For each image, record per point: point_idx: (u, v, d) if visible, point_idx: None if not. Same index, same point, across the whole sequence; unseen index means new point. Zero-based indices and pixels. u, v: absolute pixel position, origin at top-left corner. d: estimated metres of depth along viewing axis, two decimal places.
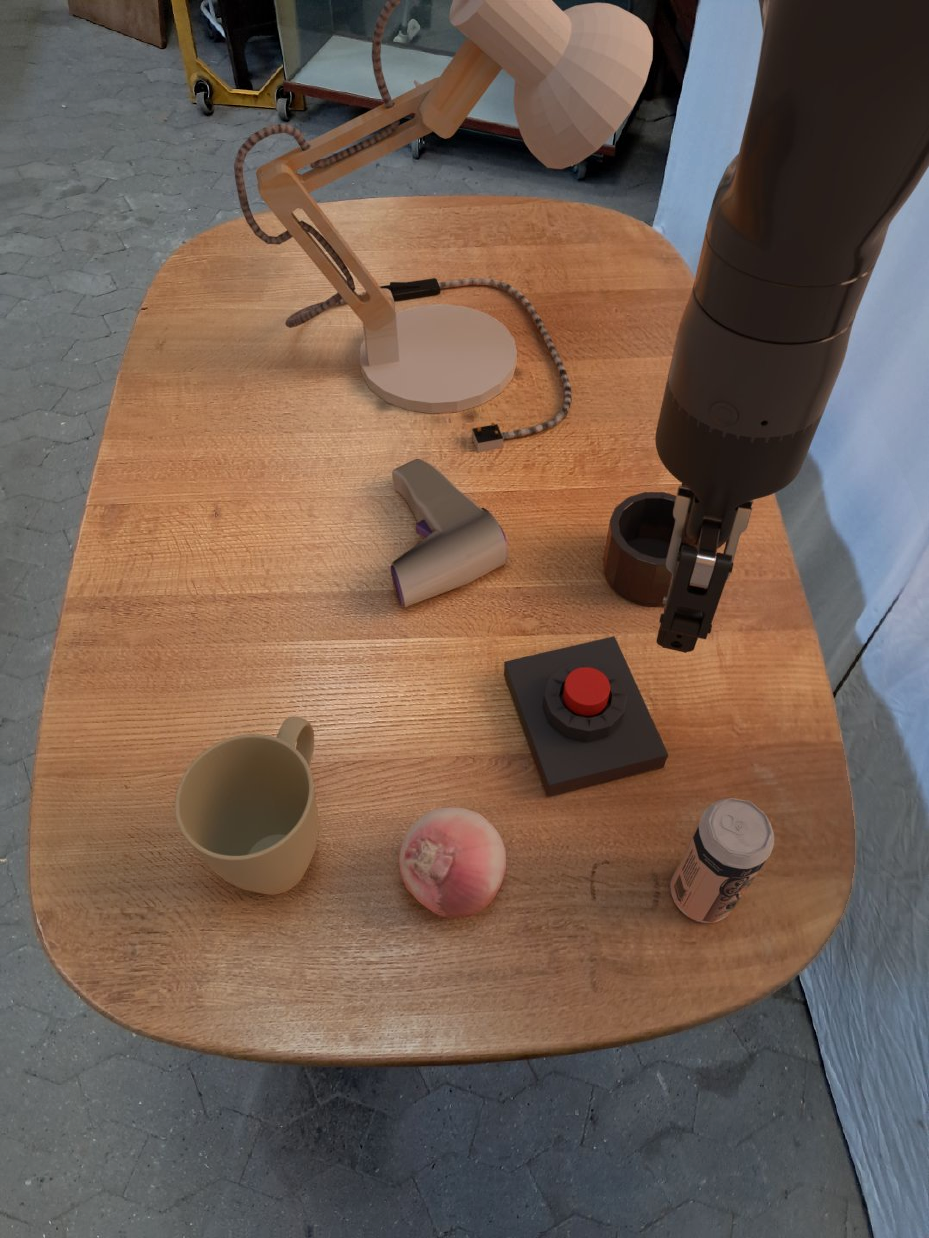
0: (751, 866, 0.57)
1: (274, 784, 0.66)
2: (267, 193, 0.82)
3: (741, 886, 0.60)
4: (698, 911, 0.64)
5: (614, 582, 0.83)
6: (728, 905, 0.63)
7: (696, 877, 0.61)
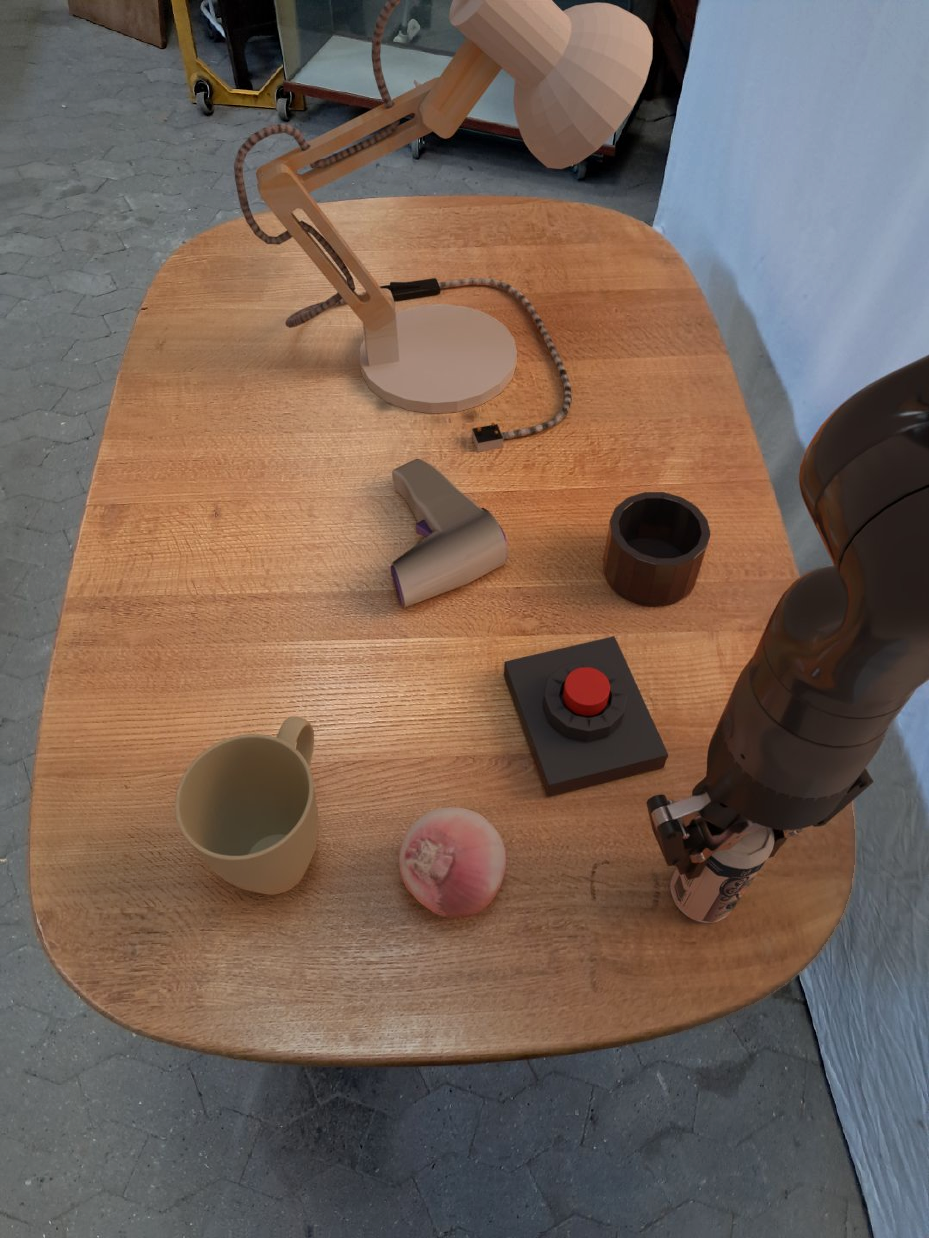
0: (751, 866, 0.57)
1: (274, 784, 0.66)
2: (267, 193, 0.82)
3: (741, 886, 0.60)
4: (699, 911, 0.64)
5: (614, 582, 0.83)
6: (728, 905, 0.63)
7: None
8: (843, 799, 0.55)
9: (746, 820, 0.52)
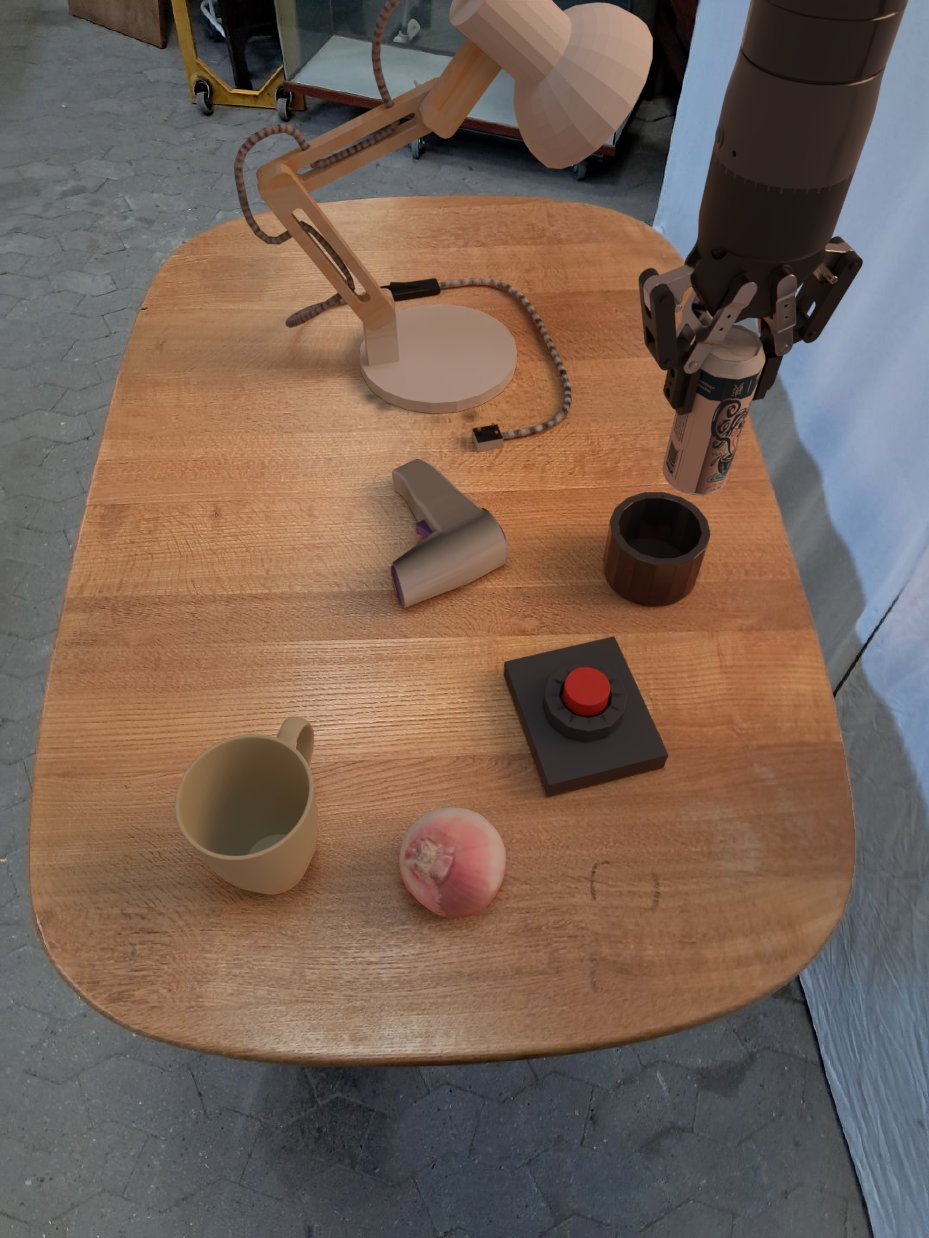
0: (742, 376, 0.57)
1: (274, 784, 0.66)
2: (267, 193, 0.82)
3: (733, 422, 0.61)
4: (690, 475, 0.65)
5: (614, 582, 0.83)
6: (720, 462, 0.64)
7: (688, 421, 0.62)
8: (833, 291, 0.55)
9: (738, 285, 0.52)
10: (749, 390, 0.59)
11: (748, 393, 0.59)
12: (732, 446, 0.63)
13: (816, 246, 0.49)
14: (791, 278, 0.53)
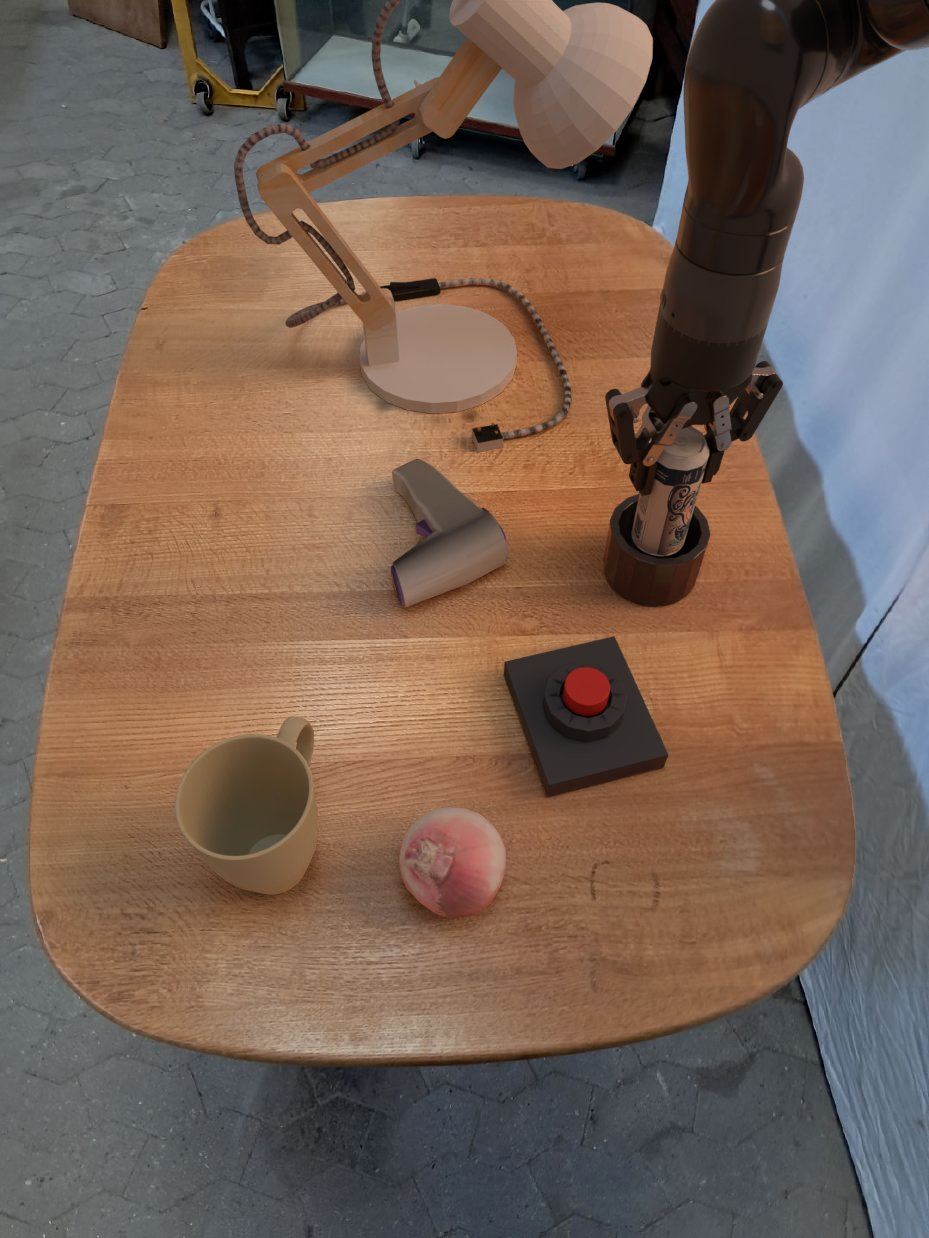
0: (690, 468, 0.72)
1: (274, 784, 0.66)
2: (267, 193, 0.82)
3: (685, 501, 0.75)
4: (653, 541, 0.79)
5: (614, 582, 0.83)
6: (676, 531, 0.78)
7: (649, 499, 0.76)
8: (761, 404, 0.70)
9: (682, 403, 0.67)
10: (696, 477, 0.73)
11: (696, 480, 0.74)
12: (686, 519, 0.77)
13: (739, 379, 0.64)
14: (724, 398, 0.67)
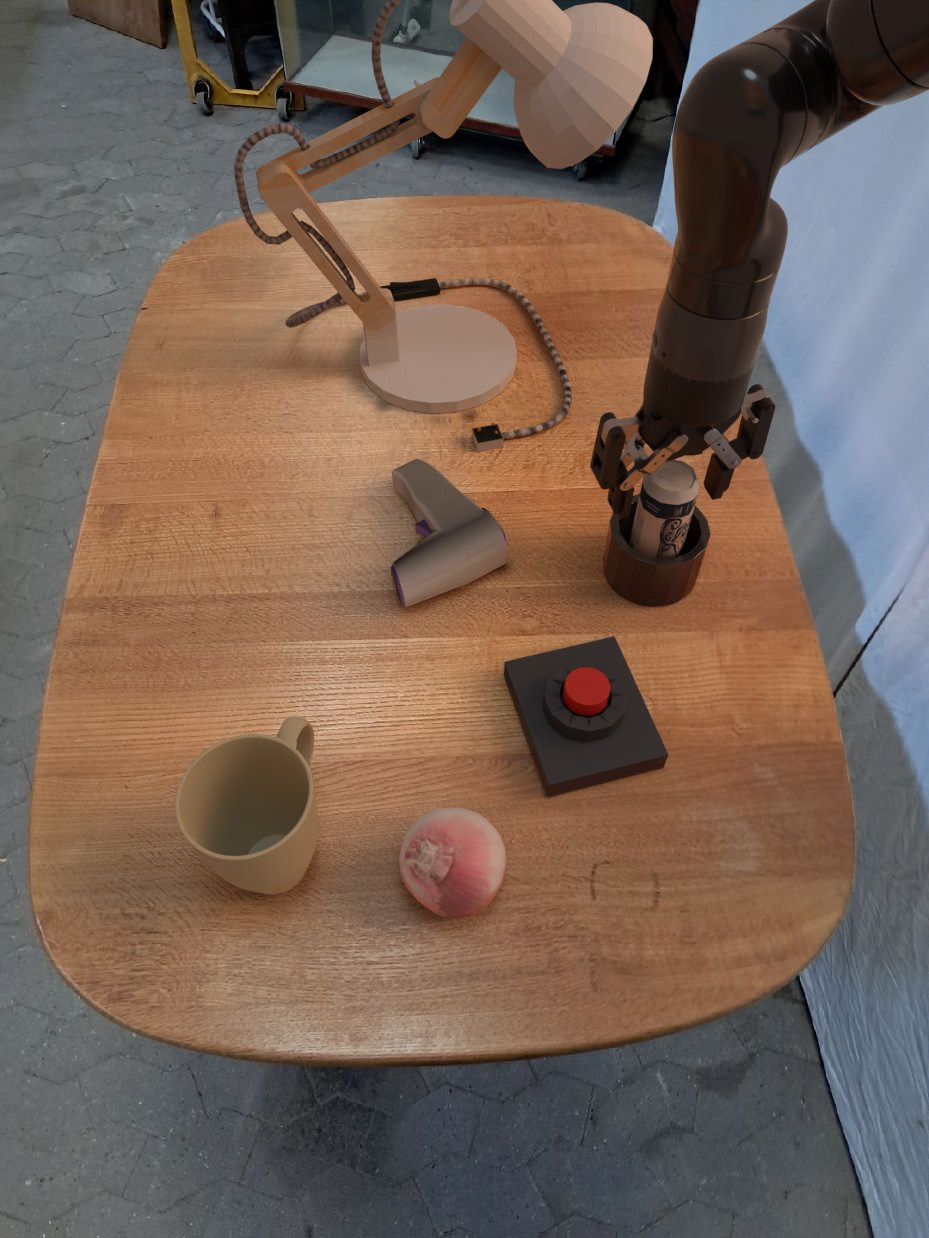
0: (681, 502, 0.75)
1: (274, 784, 0.66)
2: (267, 193, 0.82)
3: (676, 533, 0.78)
4: None
5: (614, 582, 0.83)
6: None
7: (642, 530, 0.79)
8: (759, 426, 0.72)
9: (673, 436, 0.70)
10: (687, 511, 0.77)
11: (687, 513, 0.77)
12: (677, 549, 0.80)
13: (728, 415, 0.67)
14: (714, 431, 0.70)
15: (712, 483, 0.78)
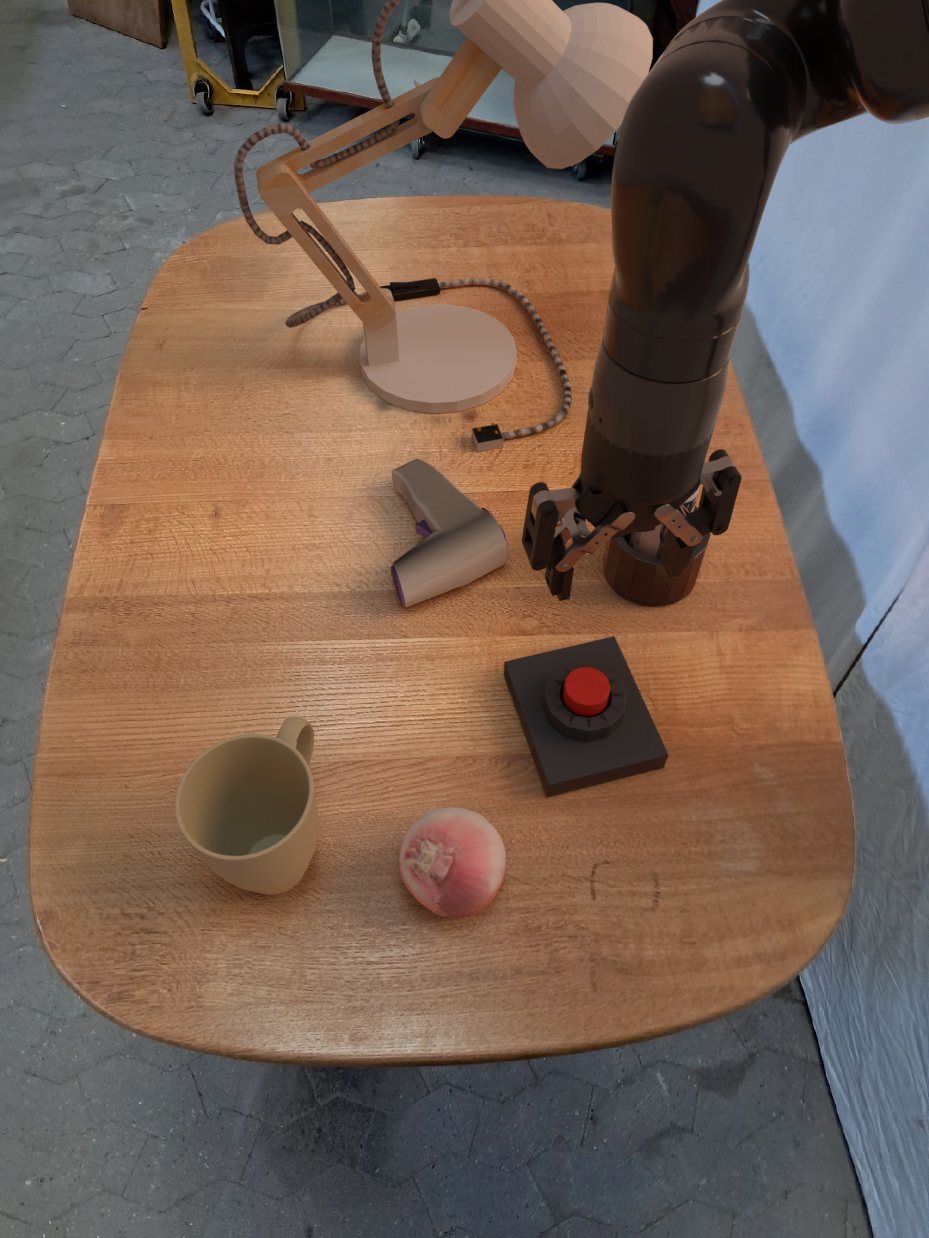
0: None
1: (274, 784, 0.66)
2: (267, 193, 0.82)
3: None
4: None
5: (614, 582, 0.83)
6: None
7: None
8: (723, 500, 0.60)
9: (617, 512, 0.58)
10: None
11: None
12: None
13: (681, 492, 0.55)
14: (666, 507, 0.58)
15: (669, 560, 0.66)
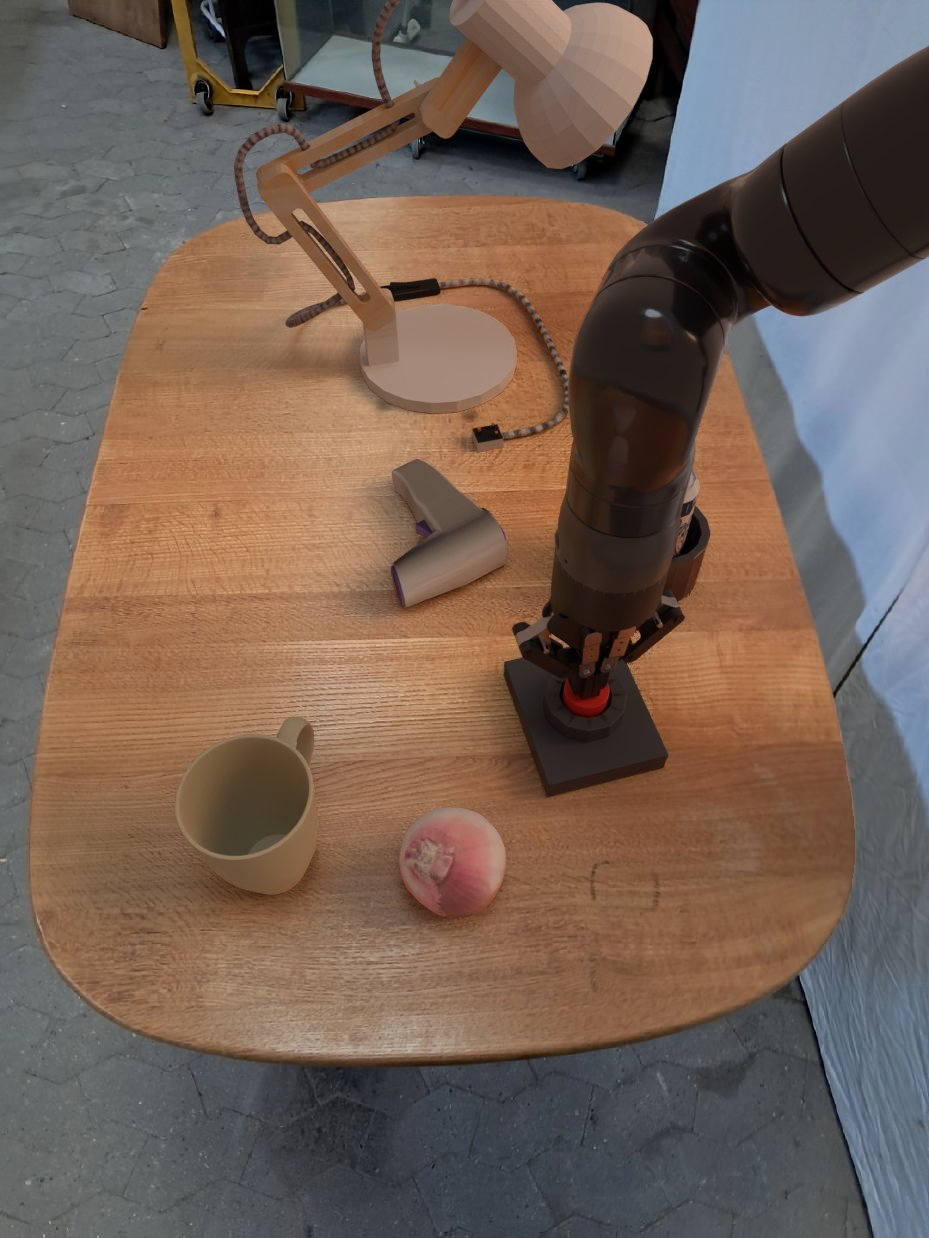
0: None
1: (274, 784, 0.66)
2: (267, 193, 0.82)
3: None
4: None
5: None
6: None
7: None
8: (657, 633, 0.66)
9: (585, 633, 0.63)
10: (687, 511, 0.77)
11: (687, 513, 0.77)
12: (677, 549, 0.80)
13: (642, 619, 0.59)
14: None
15: None
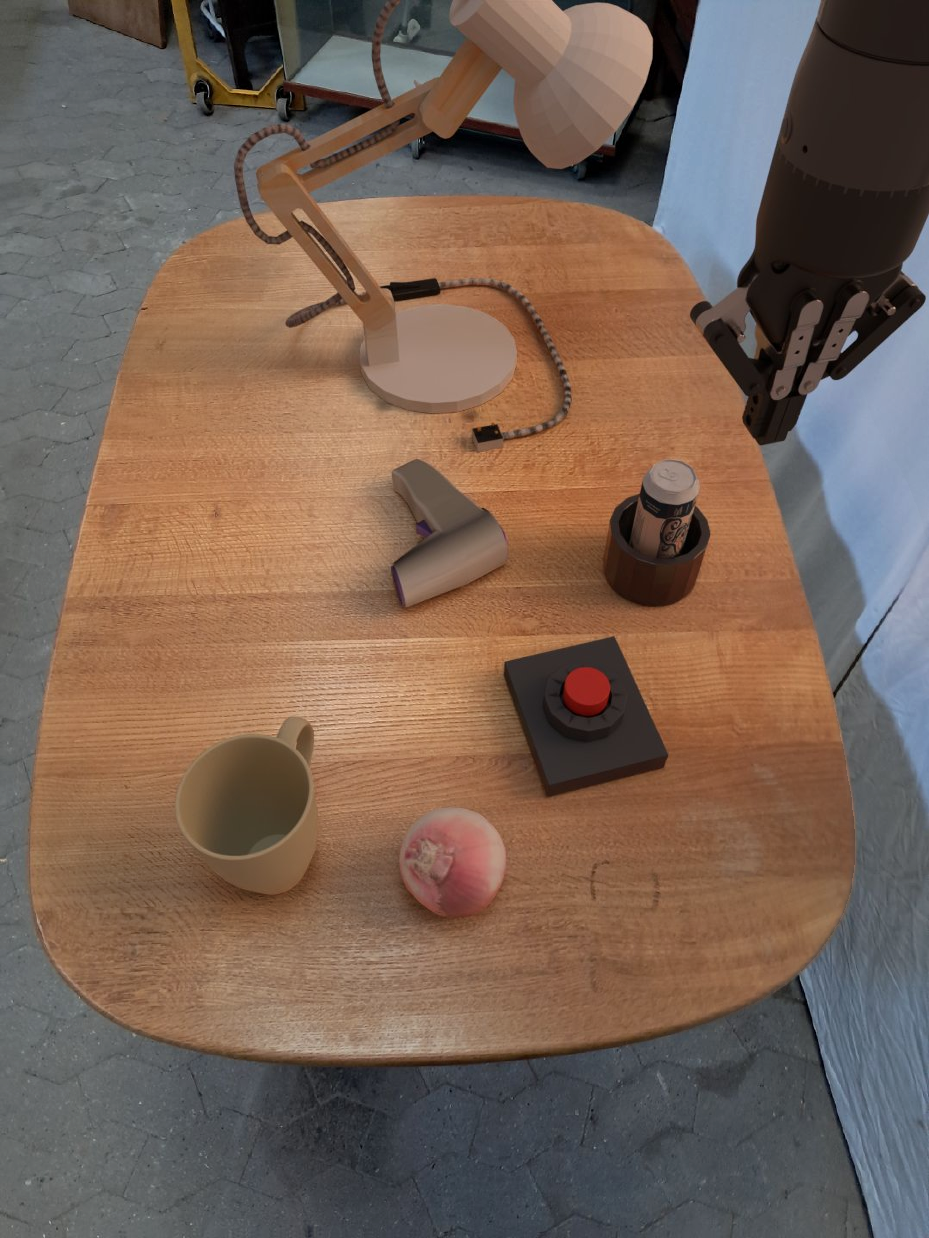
0: (681, 502, 0.75)
1: (274, 784, 0.66)
2: (267, 193, 0.82)
3: (676, 533, 0.78)
4: None
5: (614, 582, 0.83)
6: None
7: (642, 530, 0.79)
8: (884, 326, 0.48)
9: (800, 303, 0.45)
10: (687, 511, 0.77)
11: (687, 513, 0.77)
12: (677, 549, 0.80)
13: (897, 259, 0.42)
14: (863, 295, 0.45)
15: None
